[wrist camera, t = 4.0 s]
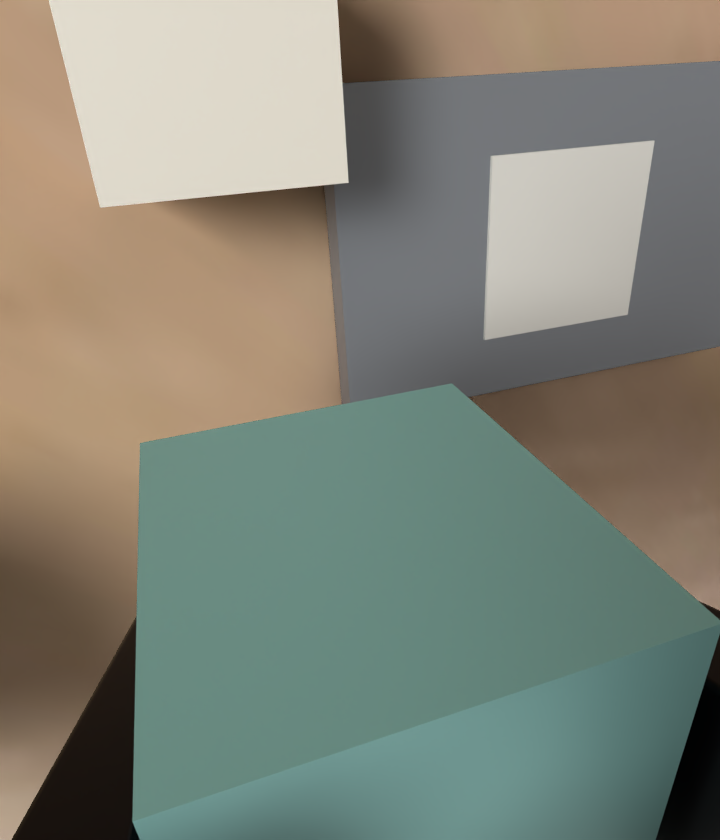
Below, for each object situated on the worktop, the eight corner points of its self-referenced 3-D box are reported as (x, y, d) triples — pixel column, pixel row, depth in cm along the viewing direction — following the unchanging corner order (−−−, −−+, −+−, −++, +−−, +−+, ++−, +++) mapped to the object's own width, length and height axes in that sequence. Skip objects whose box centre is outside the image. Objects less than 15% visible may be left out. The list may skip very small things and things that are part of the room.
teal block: (202, 675, 10) (241, 1086, 6) (140, 442, 8) (132, 821, 4) (448, 604, 11) (634, 907, 7) (451, 383, 9) (723, 622, 5)
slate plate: (342, 407, 19) (352, 421, 18) (316, 85, 15) (327, 83, 14) (698, 337, 23) (722, 347, 22) (759, 59, 18) (791, 56, 17)
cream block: (112, 180, 15) (100, 207, 10) (58, -51, 13) (15, -134, 8) (293, 164, 16) (348, 182, 12) (271, -51, 14) (329, -125, 9)
